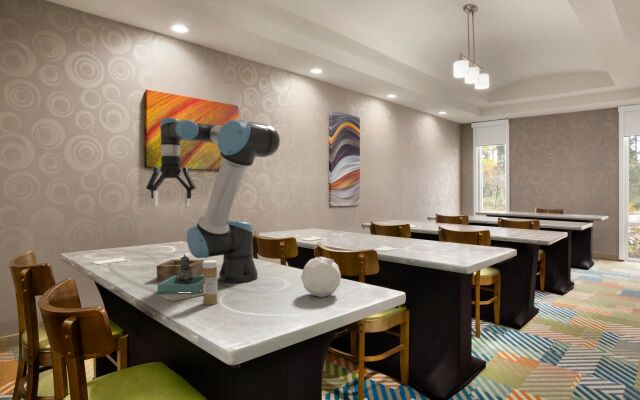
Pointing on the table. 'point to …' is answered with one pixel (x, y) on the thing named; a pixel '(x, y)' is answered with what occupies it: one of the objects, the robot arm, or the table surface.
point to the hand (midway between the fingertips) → (171, 206)
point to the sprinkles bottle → (209, 282)
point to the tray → (180, 285)
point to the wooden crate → (178, 269)
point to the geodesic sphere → (321, 276)
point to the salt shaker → (184, 272)
